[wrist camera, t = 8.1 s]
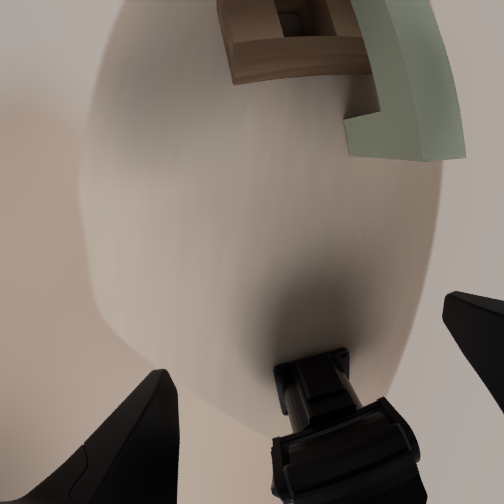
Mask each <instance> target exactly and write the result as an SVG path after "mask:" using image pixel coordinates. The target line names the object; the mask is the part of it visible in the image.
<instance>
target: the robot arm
mask: <svg viewBox="0 0 504 504" xmlns="http://www.w3.org/2000/svg"><path fill="white" fill-rule="evenodd" d="M442 318H443V322H444V323H445V325H446V327H447V328H448V330H449V331H450V333H451V335H452V336H453V338H454V339H455V341H456V343H457V344H458V346H459V348H460V349H461V351H462V352H463V354H464V356H465V357H466V359H467V360H468V361H469V363H470V364H471V365H472V367H473V368H474V370H475V371H476V372H477V374H478V375H479V377H480V378H481V380H482V381H483V382H484V384H485V385H486V387H487V388H488V390H489V391H490V393H491V394H492V396H493V397H494V399H495V401H496V402H497V404H498V405H499V407H500V408H501V410H502V411H503V413H504V301H502V300H497V299H492V298H488V297H483V296H477V295H473V294H468V293H463V292H459V291H454V292H451V293H449V294H447V295H446V296H445V300H444V307H443V314H442ZM343 353H344V354H343ZM342 354H343V355H342ZM279 370H281V371H280V372H278V371H279ZM273 373H274V377H275V382H276V386H277V391H278V395H279V400H280V405H281V409H282V413H283V415H289V419H290V422H291V426H292V430H293V434H290V435H287V436H283V437H276V438H273V439H272V440H273V447H272V448H271V449H272V451H271V456H272V464H273V479H272V487H271V490H272V494H273V495H274V496H276V497H278V498H280V499H281V501H282V502H283V503H284V504H426V502H427V493H426V490H425V488H424V486H423V483H422V481H421V478H420V474H419V471H418V468H417V464H416V463H417V462H419V460H420V449H419V445H418V442H417V440H416V437H415V435H414V433H413V431H412V429H411V428H410V426H409V425H408V424H407V422H406V421H405V420H404V419H403V417H402V416H401V415H400V414H399V413H398V412H397V411H396V410H395V409H394V407H393V406H392V405H391V404H390V403H389V402H388V401H387V399H386V398H385V397H384V396H383V397H381V398H379V399H377V401H375V402H373V403H371V404H369V405H367V406H364V407H363V406H362V404H361V403H360V401H359V399H358V397H357V395H356V393H355V391H354V389H353V387H352V386H351V384H350V382H349V351H348V350H347V349H346V348H341V349H338V350H334V351H331V352H327V353H324V354H320V355H317V356H313V357H309V358H305V359H302V360H298V361H294V362H290V363H286V364H281V365H278V366H275V367H274V369H273ZM179 445H180V431H179V413H178V393H177V389H176V387H175V385H174V383H173V381H172V379H171V377H170V375H169V373H168V371H167V370H166V369H158V370H153V371H151V372H150V373H149V375H148V376H147V377H146V378H145V379H144V380H143V381H142V382H141V383H140V384H139V385H138V386H137V387H136V388H135V390H133V392H132V393H131V394H130V395H129V396H128V397H127V398H126V399H125V400H124V401H123V402H122V403H121V404H120V405H119V406H118V408H117V409H116V410H115V411H114V412H113V413H112V414H111V415H110V416H109V417H108V418H107V419H106V420H105V421H104V422H103V423H102V424H101V425H100V427H99V428H98V429H97V430H96V431H95V432H94V433H93V434H92V435H91V436H90V437H89V438H88V439H87V440H86V441H85V442H84V445H81V446H80V447H79V448H78V449H77V450H76V451H75V453H74V454H73V455H71V457H69V459H67V460H66V461H65V462H64V463H63V464H62V465H61V466H60V467H59V468H58V469H57V470H55V471H54V472H53V473H52V474H51V475H50V476H49V477H47V478H46V479H45V480H44V481H43V482H41V483H40V484H39V485H37V486H36V487H35V488H34V489H33V490H31V491H30V492H29V493H28V494H26V495H25V496H23V497H21V498H19V499H17V500H13V501H6V502H0V504H177V484H178V462H179Z"/></svg>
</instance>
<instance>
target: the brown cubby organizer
mask: <svg viewBox="0 0 504 504" xmlns="http://www.w3.org/2000/svg"><path fill="white" fill-rule="evenodd" d="M217 13H218V17H219V22H220V26H221V31H222V35H223V40H224V44H225V49H226V53H227V58H228V62H229V67H230V72H231V76H232V81H233V85H238V84H244V83H251V82H258V81H265V80H273V79H281V78H291V77H302V76H316V75H339V74H373V73H372V69H371V65H370V61H369V57H368V54H367V50H366V47H365V43H364V40H363V37H362V33H361V30H360V27H359V24H358V21H357V18H356V15H355V12H354V9H353V7H352V4H351V1H350V0H217ZM278 14H297V18H298V21H299V24H300V28H301V31H302V35H303V36H300V37H284V35H283V32H282V28H281V24H280V21H279V17H278Z"/></svg>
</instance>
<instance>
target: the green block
mask: <svg viewBox="0 0 504 504" xmlns="http://www.w3.org/2000/svg"><path fill="white" fill-rule="evenodd" d="M350 1H351V4H352V7H353V9H354V12H355V15H356V18H357V21H358V24H359V27H360V30H361V33H362V37H363V40H364V43H365V47H366V50H367V54H368V57H369V61H370V65H371V69H372V73H373V77H374V81H375V85H376V90H377V94H378V99H379V104H380V109H381V112H376V113H371V114H367V115H362V116H358V117H354V118H350V119H345V120H344V125H345V131H346V136H347V142H348V148H349V154H350V156H356V157H374V158H388V159H400V160H410V161H420V162H427V161H437V160H447V159H459V158H466V152H465V143H464V135H463V128H462V121H461V114H460V109H459V103H458V98H457V93H456V88H455V84H454V80H453V75H452V71H451V67H450V63H449V60H448V56H447V53H446V49H445V46H444V43H443V40H442V37H441V34H440V31H439V28H438V25H437V22H436V20H435V17H434V14H433V12H432V9H431V7H430V4H429V2H428V0H350Z"/></svg>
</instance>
